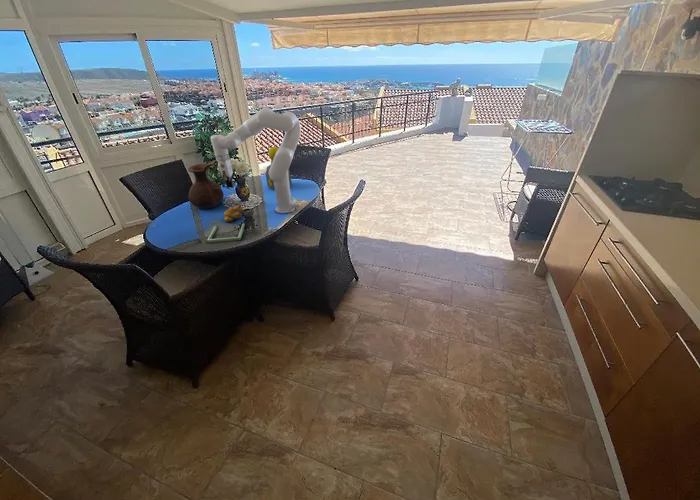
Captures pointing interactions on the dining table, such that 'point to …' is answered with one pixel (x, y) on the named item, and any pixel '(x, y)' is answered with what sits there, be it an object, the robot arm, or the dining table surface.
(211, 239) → the frame
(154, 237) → the dining table surface
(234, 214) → the bread roll
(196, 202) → the jug
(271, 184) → the decorative lamp
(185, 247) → the dining table surface
